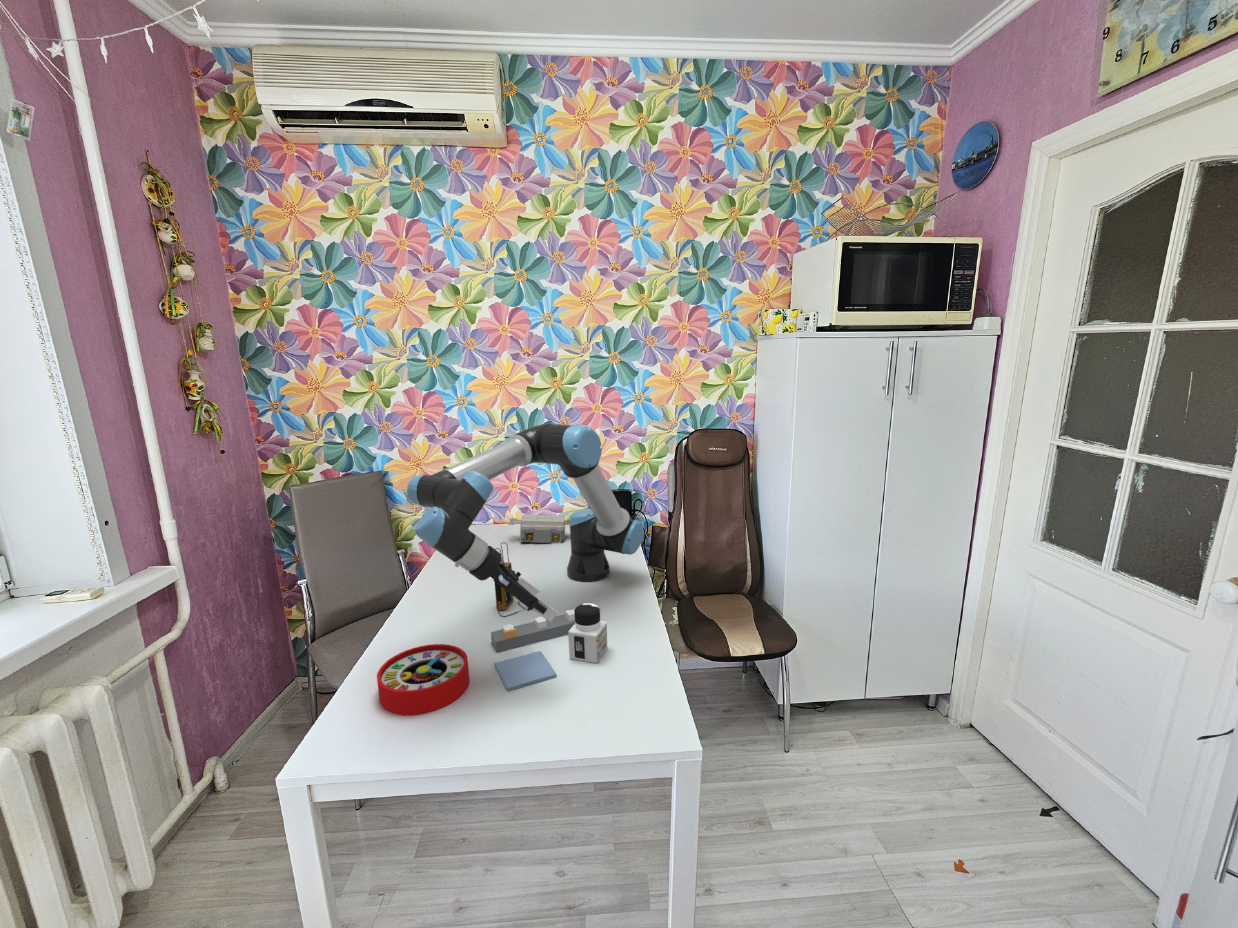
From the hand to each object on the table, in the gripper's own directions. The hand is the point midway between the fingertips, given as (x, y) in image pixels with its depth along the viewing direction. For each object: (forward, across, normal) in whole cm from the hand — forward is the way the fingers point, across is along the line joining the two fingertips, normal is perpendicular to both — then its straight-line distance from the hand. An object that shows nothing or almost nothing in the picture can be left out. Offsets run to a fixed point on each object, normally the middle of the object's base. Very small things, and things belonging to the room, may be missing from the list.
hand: (544, 605), depth 132 cm
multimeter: (+13, -36, -10) cm, 39 cm away
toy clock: (-9, -4, -32) cm, 33 cm away
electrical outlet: (+32, -92, +10) cm, 98 cm away
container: (+19, 0, -4) cm, 20 cm away
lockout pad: (+7, 0, -15) cm, 17 cm away
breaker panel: (+13, -15, -9) cm, 22 cm away
